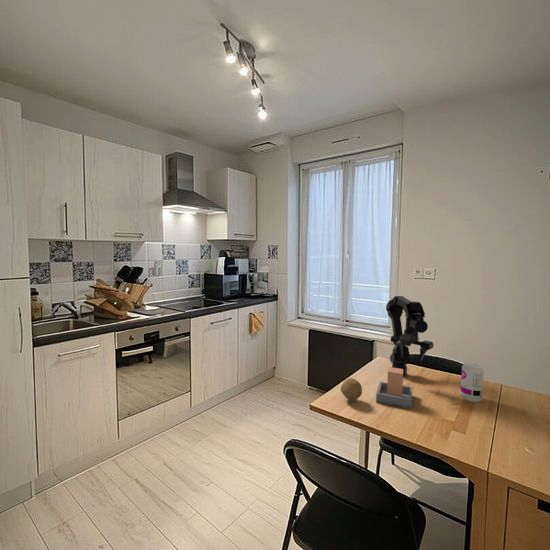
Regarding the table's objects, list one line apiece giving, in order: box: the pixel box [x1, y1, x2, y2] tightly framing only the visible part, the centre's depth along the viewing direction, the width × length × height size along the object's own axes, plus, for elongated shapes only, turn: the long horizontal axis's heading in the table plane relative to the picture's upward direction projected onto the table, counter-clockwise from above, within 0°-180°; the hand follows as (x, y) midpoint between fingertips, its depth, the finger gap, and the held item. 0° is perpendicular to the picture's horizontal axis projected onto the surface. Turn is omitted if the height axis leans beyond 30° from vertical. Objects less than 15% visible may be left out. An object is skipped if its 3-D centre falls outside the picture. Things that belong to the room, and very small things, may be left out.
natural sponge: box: [340, 377, 363, 403], centre depth 138 cm, size 9×9×10 cm
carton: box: [386, 366, 404, 397], centre depth 141 cm, size 6×6×12 cm
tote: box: [375, 381, 413, 410], centre depth 141 cm, size 14×14×4 cm
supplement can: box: [459, 362, 485, 403], centre depth 142 cm, size 8×8×15 cm
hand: (410, 359), depth 155 cm, fingers open, 9 cm apart
